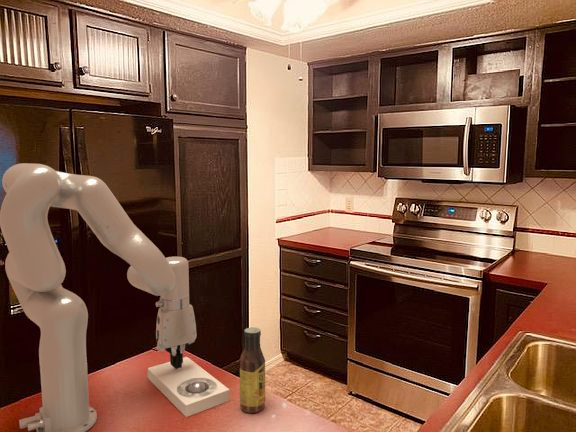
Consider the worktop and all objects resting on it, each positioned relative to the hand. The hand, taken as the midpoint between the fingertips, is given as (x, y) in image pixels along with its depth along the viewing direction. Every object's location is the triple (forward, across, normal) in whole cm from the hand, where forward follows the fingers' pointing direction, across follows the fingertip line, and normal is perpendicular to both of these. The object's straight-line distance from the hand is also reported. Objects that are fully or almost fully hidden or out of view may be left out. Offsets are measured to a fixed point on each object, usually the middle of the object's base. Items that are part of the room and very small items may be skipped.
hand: (176, 366), depth 126 cm
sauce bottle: (+4, +9, -24) cm, 26 cm away
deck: (+4, 0, -6) cm, 7 cm away
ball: (+2, 0, -12) cm, 12 cm away
